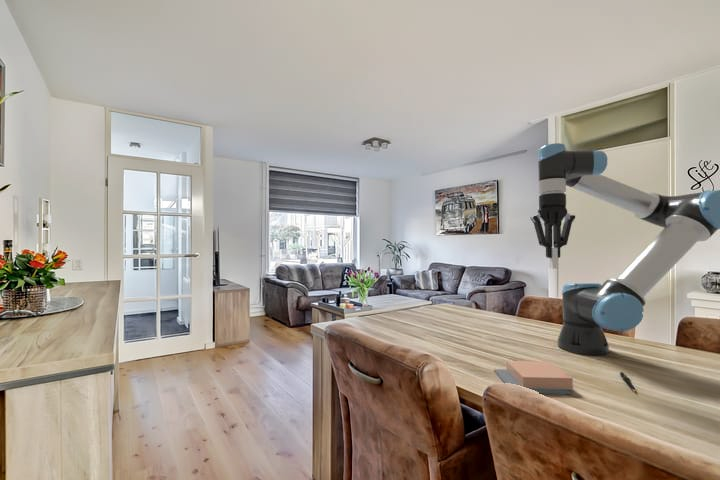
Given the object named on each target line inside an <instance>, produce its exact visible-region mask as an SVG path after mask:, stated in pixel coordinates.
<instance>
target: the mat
mask: <svg viewBox="0 0 720 480" xmlns="http://www.w3.org/2000/svg"><path fill="white" fill-rule="evenodd" d="M493 372H494V373H495V374H496V375H497V376H498V378H499V379H500V380H501V381H502V383H504V384H505V383H511V384H516V385H519V384H518V383H517V382H516V381H515V380H514V379H513V377H512V376H511V375H510V374H509V373H508V372H507V368H506V369H504V368H503V369H501V368H499V369H497V368H496V369H495V368H494V369H493ZM532 390H535V391H537V392H539V393H541V394H540V395H565V394H569V396H571V395H572V392H571V390H547V389H532Z"/></svg>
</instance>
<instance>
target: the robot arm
mask: <svg viewBox="0 0 720 480" xmlns="http://www.w3.org/2000/svg"><path fill="white" fill-rule="evenodd" d="M537 155H538V157H537V158H538V160H537V162H538V163H537V164H538V194H540V195H539V196H538V207H539V209H538V210H537V213H536V214H534V215H531V216H530V220H531V221H532V223H533V226H534V229H535V233H536V237H537V241H538V244H539V246H542V247H543V248H545V256H546V258H548V269H553V270H554V269H559V268H558V267H559V266H558V265H559V262H558V261H559V258H561V248H562V247H564V246H567V245H568V241H569V237H570V233H571V228H572V224H573V223H574V221H575V219H576V215H575V214H570V213H569V212H568V209H567V194H566V193H565V192H566V191H567V187H570V188H572V189H575V190H577V191H579V192H582V193H585V194H587V195H589V196H591V197H594V198H596V199H599V200H602V201H604V202H607V203H609V204H611V205H614V206H616V207H619V208H621V209H624V210H625V211H628V212H631V213H633V214H634V216H635V217H636V218H637V219H640V220H642V221H644V222H647V223H649V224H652V225H655V226H658V227H661V228H663V229H662V231H660V232H659V233H658V234H657V235H656V236H655V238H653V240H651V242H650V243H649V244H648V245H647V246H646V247H644V249H643V250H642V251H640V253H639V254H638V255H637V256H636V257H635V258H634V259H633V261H631V263H630V264H629V265H628V266H627V267H625V269H624V270H623V271H621V273H619V275H618V276H617V277H616V278H608V279H606V281H605V282H604V283H603V284H601V283H595V282H594V283H589V282H588V283H585V282H583V283H582V282H581V283H565V284H564V285H563V286H562V292H561V295H562V327H561V329H560V332H559V335H558V338H557V347H559V348H560V349H562V350H563V351H566V352H571V353H576V354H580V355H588V356H589V355H590V356H603V355H607V354H609V352H610V346H609V342H608V340H607V338H606V335H605V332H604V330H603V329H605V330H609V331H613V332H626V331H631V330H633V329H634V328H636V327H638V326H639V324H640V323H641V322H642V320H643V318H644V314H643V313H644V311H645V310H644V306H646V303H647V302H646V298H645V297H646V296H647V294H648V293H649V292H651V290H652V289H653V288H655V286H656V285H657V284H658V283H659V282H660V281H661V280H662V278H664V277H665V276H666V275H667V274H668V273H669V272H670V270H672V269H673V268H674V267H675V265H676V264H677V263H678V262H680V260H681V259H682V258H683V257H684V256H685V255H686V254H687V253H688V252H690V250H691V249H692V248H693V247H694V246H695V245H696V244H697V243H698V242H706V241H708V240H709V239H710V238H711V237H712V236H713V235H714V234H715V233H716V232H717V231H718V230H720V189H715V190H709V189H708V190H704V191H702V192H695V193H688V194H681V195H674V196H670V195H669V196H668V195H662V194H659V193H656V192H650V193H648V192H645V191H642V190H640V189H637V188H635V187H634V186H633V187H632V186H630V185H627V184H625V183H622V182H620V181H618V180H615V179H612V178H610V177H607V176H606V175H602V173H604V172H605V170H606V169H607V166H608V156H607V153H606V152H605V151H603V150H595V149H592V150H567V148H566V145H565V144H564V143H560V142H557V143H549V144H545V145H543V146H541V147H540V148H539V149H538V154H537ZM541 220H542V221H543V224H542V222H541ZM563 220H564V222H563V226H562V221H563ZM543 226H544V229H543ZM561 227H562V230H561Z"/></svg>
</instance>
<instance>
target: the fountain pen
mask: <svg viewBox="0 0 720 480" xmlns="http://www.w3.org/2000/svg"><path fill="white" fill-rule="evenodd" d="M619 375H620V377H621V378H622V380H623V382H625V384H626V385H627V386H628V388H629V389H630V390H631V391H632V392H636V389H635V387H634V385H633V384H632V382H631V381H630V380H629V377H628V374H626V372H624V371H620V372H619Z"/></svg>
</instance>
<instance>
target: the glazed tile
mask: <svg viewBox="0 0 720 480" xmlns="http://www.w3.org/2000/svg"><path fill="white" fill-rule="evenodd" d="M506 370H507V372H508V373H509V374H510V375H511V376H512V377H513V379H514V380H515V381H516V382H517V383H518V384H519V385H520V386H523V387H526V388H529V389H547V390H569V391H573V390H574V388H573V387H574V386H573V385H574V383H573V377H572V376H570V375H569V374H568V373H567V372H565V371H563V369H561V368H559V367H558V366H556V365H555V364H554V363H552V362H551V361H533V360H532V361H529V360H524V361H523V360H506Z"/></svg>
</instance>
